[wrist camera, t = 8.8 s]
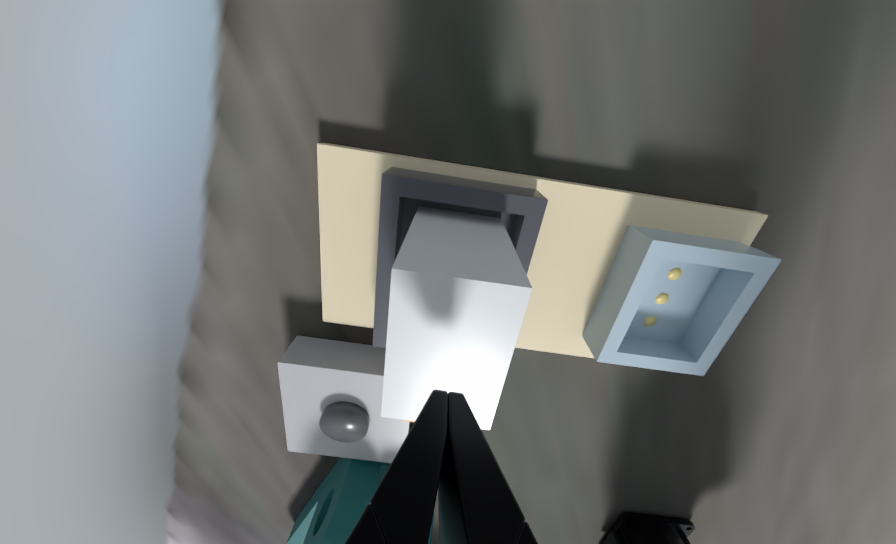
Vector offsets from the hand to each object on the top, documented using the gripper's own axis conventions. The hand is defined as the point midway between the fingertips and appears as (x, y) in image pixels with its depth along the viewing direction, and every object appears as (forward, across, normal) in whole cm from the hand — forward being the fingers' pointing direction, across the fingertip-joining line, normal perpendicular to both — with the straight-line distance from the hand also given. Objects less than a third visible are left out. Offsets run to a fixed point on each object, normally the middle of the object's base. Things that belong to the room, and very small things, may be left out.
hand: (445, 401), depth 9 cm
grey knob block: (+10, +5, +11) cm, 16 cm away
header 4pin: (+10, 0, 0) cm, 10 cm away
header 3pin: (+10, -11, 0) cm, 15 cm away
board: (+10, -4, 0) cm, 11 cm away
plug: (+9, 0, 0) cm, 9 cm away
